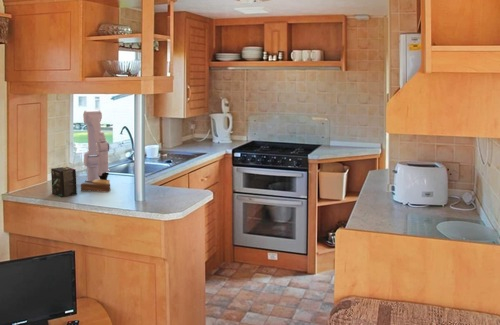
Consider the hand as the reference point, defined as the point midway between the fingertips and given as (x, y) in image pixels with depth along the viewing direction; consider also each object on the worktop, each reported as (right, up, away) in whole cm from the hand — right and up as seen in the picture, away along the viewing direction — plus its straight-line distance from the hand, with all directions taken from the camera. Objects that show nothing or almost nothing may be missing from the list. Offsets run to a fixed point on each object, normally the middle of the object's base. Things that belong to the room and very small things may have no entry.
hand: (103, 185), depth 298 cm
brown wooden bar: (-2, -3, -8) cm, 9 cm away
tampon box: (-16, -5, -18) cm, 25 cm away
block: (0, -2, -4) cm, 4 cm away
